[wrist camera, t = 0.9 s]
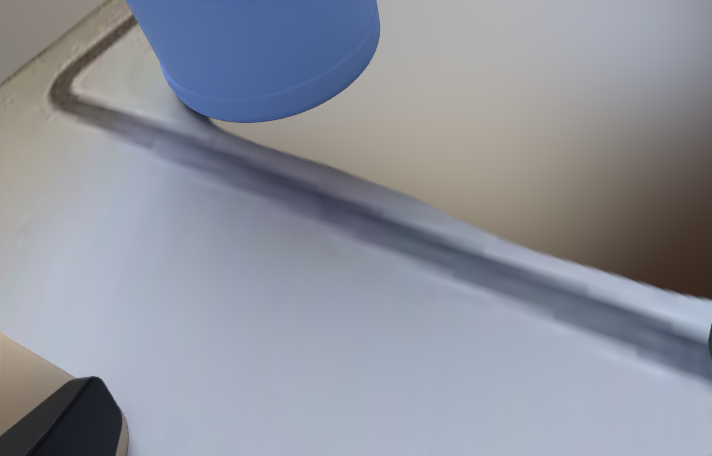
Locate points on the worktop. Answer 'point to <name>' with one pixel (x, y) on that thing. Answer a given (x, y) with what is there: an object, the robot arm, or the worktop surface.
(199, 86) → the water jug
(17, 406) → the beige knobbed cylinder
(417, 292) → the worktop surface
